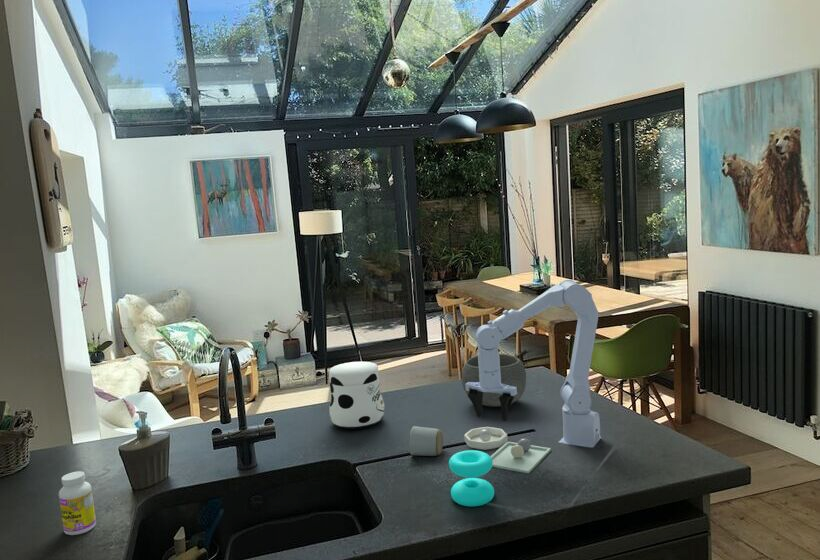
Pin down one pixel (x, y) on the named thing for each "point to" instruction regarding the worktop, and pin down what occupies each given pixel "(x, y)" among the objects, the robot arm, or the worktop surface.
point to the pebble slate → (525, 444)
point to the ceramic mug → (425, 441)
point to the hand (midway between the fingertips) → (492, 418)
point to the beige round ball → (517, 451)
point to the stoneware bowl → (496, 441)
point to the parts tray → (522, 464)
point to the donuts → (471, 488)
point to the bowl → (510, 375)
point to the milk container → (355, 395)
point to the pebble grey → (485, 435)
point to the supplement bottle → (76, 504)
